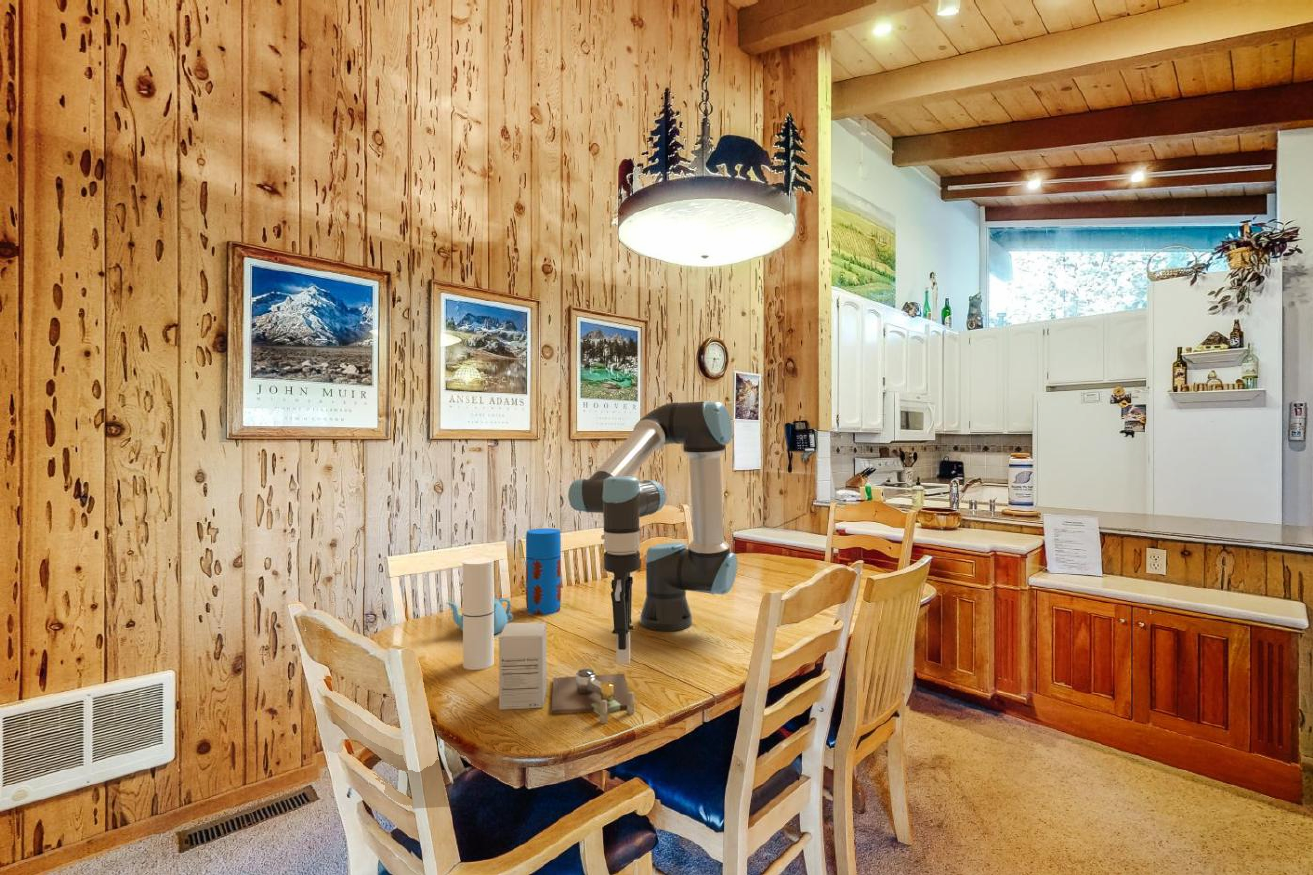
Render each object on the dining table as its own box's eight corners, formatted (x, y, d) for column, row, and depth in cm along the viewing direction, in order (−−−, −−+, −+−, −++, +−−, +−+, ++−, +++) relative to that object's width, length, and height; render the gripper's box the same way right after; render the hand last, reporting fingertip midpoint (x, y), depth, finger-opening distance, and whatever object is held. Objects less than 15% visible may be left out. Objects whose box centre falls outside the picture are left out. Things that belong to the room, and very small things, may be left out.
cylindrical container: (466, 672, 140) (465, 565, 140) (460, 661, 146) (460, 559, 146) (496, 666, 143) (496, 562, 143) (490, 656, 149) (490, 556, 149)
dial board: (625, 676, 137) (625, 659, 137) (636, 721, 116) (636, 700, 116) (553, 681, 134) (553, 663, 134) (551, 727, 113) (551, 706, 113)
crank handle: (572, 688, 128) (572, 670, 128) (588, 683, 130) (588, 666, 130) (602, 707, 119) (602, 688, 119) (619, 702, 121) (619, 683, 121)
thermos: (553, 616, 183) (553, 534, 183) (520, 614, 185) (520, 533, 185) (565, 606, 193) (565, 528, 193) (534, 604, 196) (534, 527, 195)
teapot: (519, 625, 175) (519, 589, 175) (494, 642, 160) (494, 603, 160) (474, 621, 178) (474, 586, 178) (445, 637, 163) (445, 600, 163)
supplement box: (505, 691, 129) (505, 622, 129) (547, 689, 130) (547, 621, 130) (497, 710, 120) (497, 636, 120) (542, 708, 121) (542, 635, 121)
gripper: (609, 544, 132) (611, 650, 133) (597, 557, 119) (599, 675, 120) (643, 544, 131) (645, 651, 132) (635, 558, 118) (636, 676, 119)
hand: (623, 662), depth 126 cm, fingers closed
